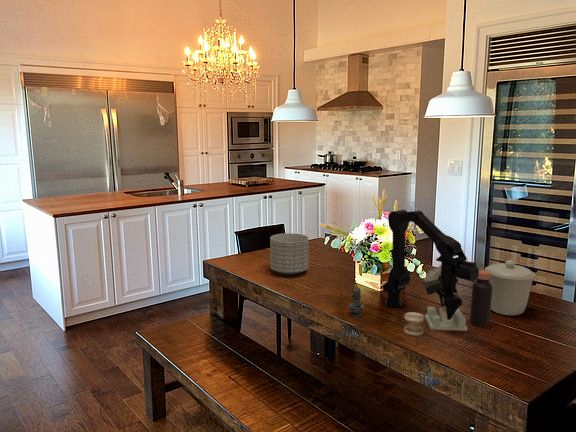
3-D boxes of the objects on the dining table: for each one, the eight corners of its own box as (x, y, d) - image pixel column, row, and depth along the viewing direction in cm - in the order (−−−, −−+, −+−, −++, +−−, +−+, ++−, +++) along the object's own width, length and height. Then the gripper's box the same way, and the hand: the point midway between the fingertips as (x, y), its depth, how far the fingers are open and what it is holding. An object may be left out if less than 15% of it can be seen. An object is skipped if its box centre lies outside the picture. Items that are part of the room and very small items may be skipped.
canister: (532, 307, 194) (537, 258, 190) (529, 323, 178) (534, 270, 174) (485, 299, 203) (489, 251, 199) (478, 314, 188) (482, 262, 183)
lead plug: (438, 318, 180) (439, 304, 179) (449, 318, 180) (450, 305, 179) (441, 322, 177) (442, 308, 175) (452, 323, 176) (453, 309, 175)
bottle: (477, 327, 175) (482, 275, 171) (466, 320, 182) (469, 270, 178) (493, 325, 177) (497, 274, 173) (481, 318, 183) (485, 268, 179)
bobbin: (402, 327, 176) (403, 311, 174) (421, 327, 175) (422, 312, 174) (405, 335, 169) (405, 319, 168) (425, 336, 168) (426, 320, 167)
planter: (308, 278, 230) (308, 242, 226) (269, 278, 230) (269, 242, 226) (307, 267, 248) (308, 233, 245) (271, 266, 249) (271, 233, 245)
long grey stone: (461, 272, 245) (442, 269, 251) (461, 262, 244) (442, 259, 250) (439, 287, 217) (418, 284, 222) (439, 276, 216) (418, 273, 222)
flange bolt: (353, 310, 191) (354, 281, 189) (366, 313, 188) (367, 285, 185) (345, 314, 187) (346, 285, 185) (358, 318, 183) (359, 289, 181)
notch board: (424, 317, 184) (425, 306, 184) (459, 318, 183) (460, 307, 182) (430, 329, 174) (431, 318, 173) (467, 330, 173) (468, 319, 172)
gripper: (421, 266, 185) (419, 304, 188) (431, 282, 166) (428, 324, 169) (451, 267, 184) (448, 305, 187) (464, 283, 165) (460, 325, 168)
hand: (445, 314), depth 178 cm, fingers open, 9 cm apart
